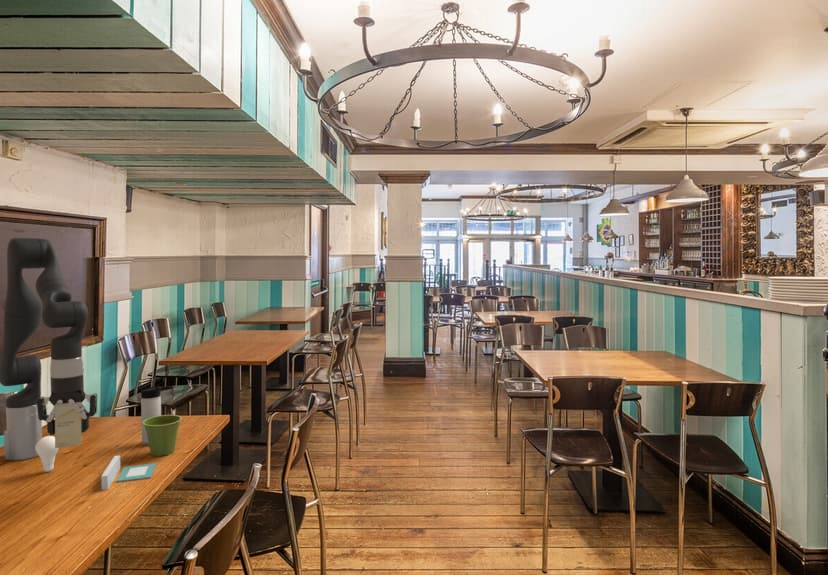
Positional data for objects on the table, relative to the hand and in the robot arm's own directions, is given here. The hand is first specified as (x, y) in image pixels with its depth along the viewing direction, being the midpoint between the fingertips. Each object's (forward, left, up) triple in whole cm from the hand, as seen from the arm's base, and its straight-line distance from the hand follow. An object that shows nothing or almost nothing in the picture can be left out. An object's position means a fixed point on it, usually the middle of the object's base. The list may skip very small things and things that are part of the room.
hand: (68, 432), depth 141 cm
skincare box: (0, 0, -4) cm, 4 cm away
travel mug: (+15, +37, -17) cm, 43 cm away
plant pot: (+20, +25, -17) cm, 36 cm away
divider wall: (+9, +7, -17) cm, 20 cm away
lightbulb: (-11, +19, -17) cm, 28 cm away
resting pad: (+15, +9, -17) cm, 24 cm away
